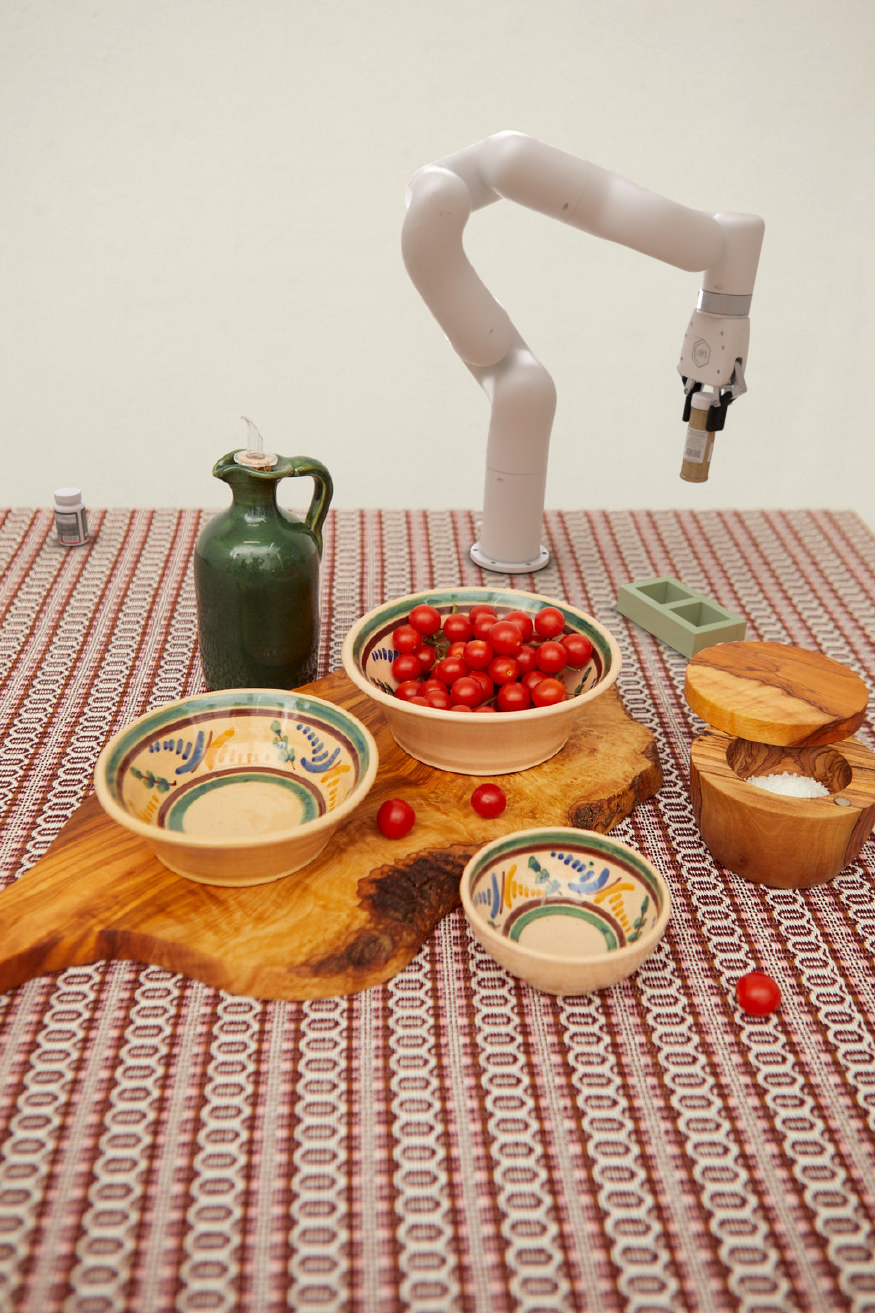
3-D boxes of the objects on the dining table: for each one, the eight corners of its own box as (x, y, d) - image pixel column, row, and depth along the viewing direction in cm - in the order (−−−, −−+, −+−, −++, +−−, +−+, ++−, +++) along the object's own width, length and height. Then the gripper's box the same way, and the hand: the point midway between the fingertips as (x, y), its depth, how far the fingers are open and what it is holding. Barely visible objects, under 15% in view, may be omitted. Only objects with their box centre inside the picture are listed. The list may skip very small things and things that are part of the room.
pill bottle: (76, 533, 178) (70, 484, 174) (95, 540, 176) (89, 490, 172) (52, 541, 175) (45, 491, 171) (71, 549, 172) (64, 498, 168)
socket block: (691, 660, 147) (695, 634, 145) (616, 610, 160) (619, 585, 158) (742, 647, 151) (747, 621, 149) (665, 599, 164) (669, 574, 162)
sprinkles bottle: (713, 481, 172) (729, 396, 166) (693, 485, 170) (708, 399, 164) (692, 472, 176) (707, 389, 169) (672, 476, 173) (686, 392, 167)
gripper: (667, 293, 165) (648, 412, 173) (745, 316, 152) (721, 444, 161) (704, 292, 168) (685, 409, 177) (784, 314, 155) (759, 439, 164)
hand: (702, 424), depth 169 cm, fingers closed on sprinkles bottle, 4 cm apart
